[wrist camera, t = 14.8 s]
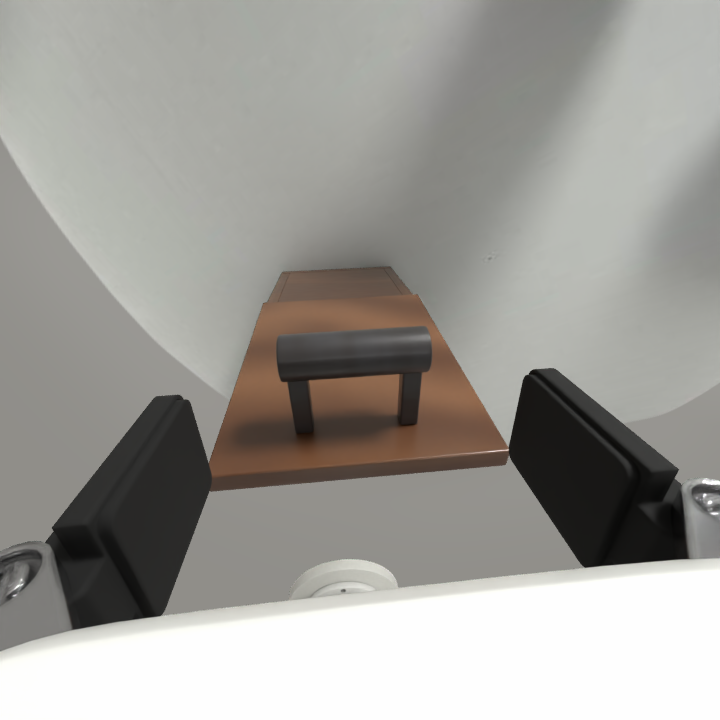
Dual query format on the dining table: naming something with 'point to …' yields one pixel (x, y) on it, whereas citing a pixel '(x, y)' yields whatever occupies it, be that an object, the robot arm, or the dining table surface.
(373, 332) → the lid
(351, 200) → the dining table surface
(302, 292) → the chest
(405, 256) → the dining table surface
